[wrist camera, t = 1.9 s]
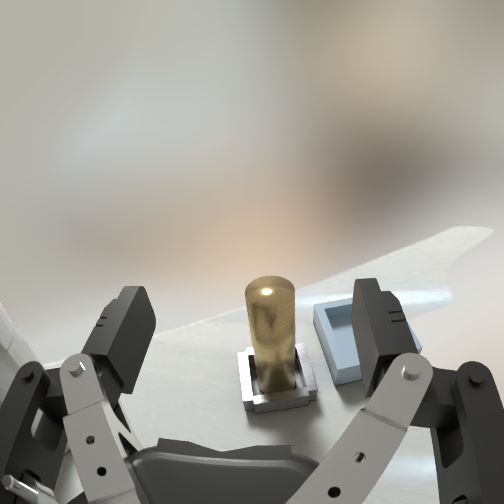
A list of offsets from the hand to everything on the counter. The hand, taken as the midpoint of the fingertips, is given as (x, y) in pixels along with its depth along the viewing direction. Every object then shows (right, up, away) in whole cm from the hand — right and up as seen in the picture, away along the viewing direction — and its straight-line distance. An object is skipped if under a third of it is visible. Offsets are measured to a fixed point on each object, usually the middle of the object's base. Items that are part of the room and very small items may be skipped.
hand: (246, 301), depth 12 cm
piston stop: (+3, -12, +21) cm, 25 cm away
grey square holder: (+3, -12, +21) cm, 25 cm away
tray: (+13, -9, +24) cm, 29 cm away
